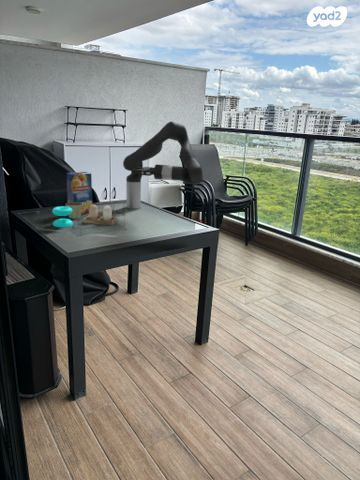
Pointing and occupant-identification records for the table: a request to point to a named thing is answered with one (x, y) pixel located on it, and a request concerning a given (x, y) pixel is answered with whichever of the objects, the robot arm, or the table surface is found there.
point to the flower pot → (75, 209)
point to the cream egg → (107, 213)
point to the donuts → (62, 212)
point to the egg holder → (100, 220)
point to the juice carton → (80, 189)
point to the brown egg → (93, 212)
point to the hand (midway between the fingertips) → (133, 170)
